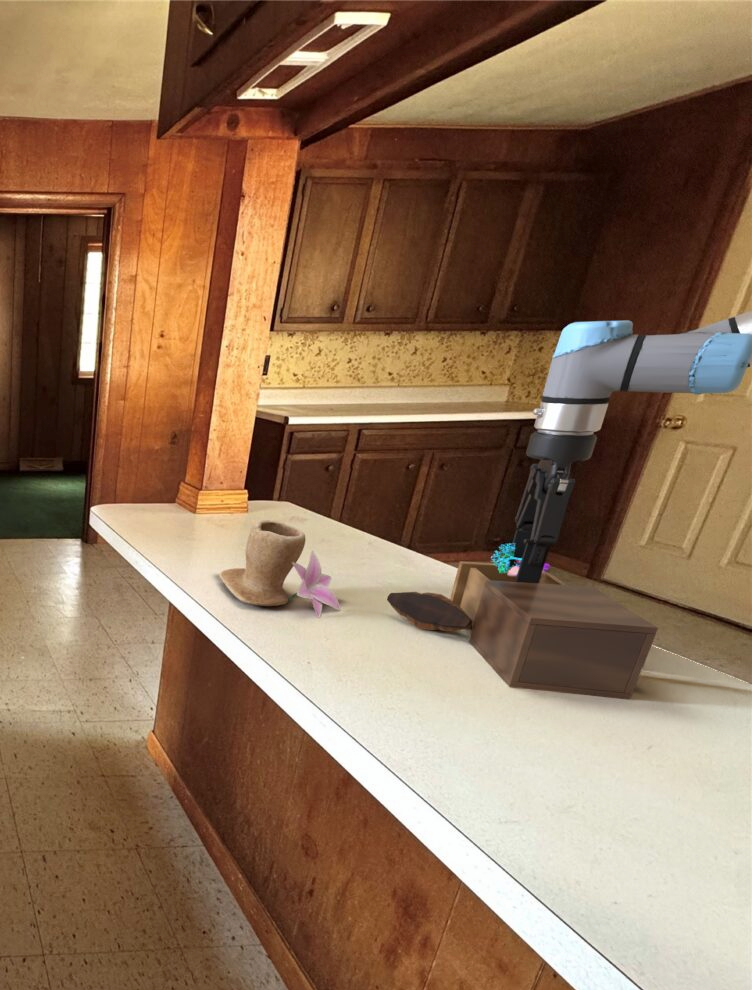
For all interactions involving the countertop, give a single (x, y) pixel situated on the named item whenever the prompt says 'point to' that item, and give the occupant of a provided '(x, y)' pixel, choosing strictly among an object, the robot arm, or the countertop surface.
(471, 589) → the drawer
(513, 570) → the anatomy model
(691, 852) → the countertop surface
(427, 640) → the countertop surface
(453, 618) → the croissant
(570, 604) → the cabinet
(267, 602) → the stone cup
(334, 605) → the lily
